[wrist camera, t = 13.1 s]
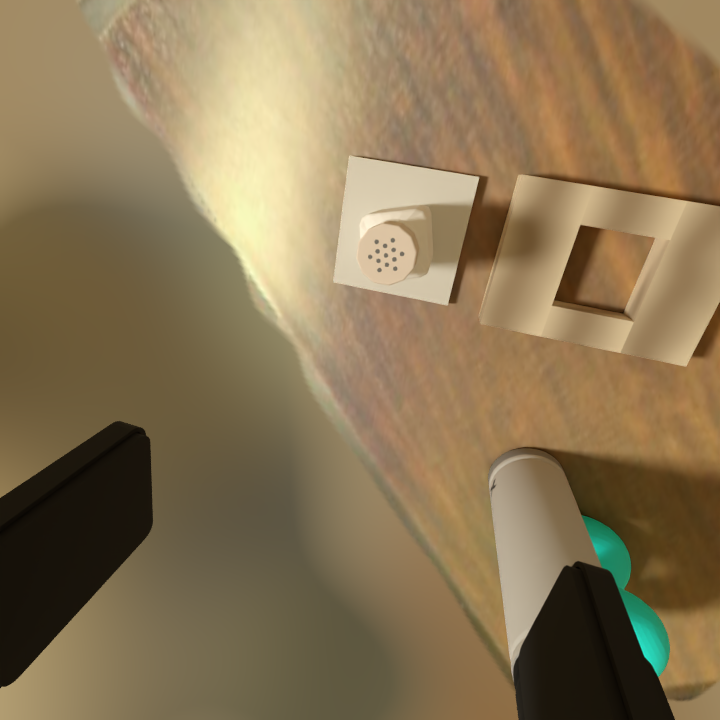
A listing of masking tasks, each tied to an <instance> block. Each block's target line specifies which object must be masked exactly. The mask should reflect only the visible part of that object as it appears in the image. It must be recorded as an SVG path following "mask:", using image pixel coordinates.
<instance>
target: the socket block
mask: <svg viewBox="0 0 720 720" xmlns="http://www.w3.org/2000/svg"><path fill="white" fill-rule="evenodd" d="M580 225H585V226H591V227H596V228H602V229H608V230H614V231H620V232H625V233H631V234H637V235H643V236H648V237H654V238H655V240H654V243H653V245H652V247H651V250H650V252H649V254H648V257H647V259H646V261H645V264H644V266H643V268H642V271H641V273H640V275H639V278H638V280H637V282H636V285H635V287H634V289H633V292H632V294H631V296H630V299H629V301H628V303H627V306H626V308H625V310H624V313H623V314H622V313H617V312H612V311H607V310H602V309H597V308H592V307H587V306H581V305H576V304H571V303H566V302H561V301H556V300H554V298H555V295H556V292H557V290H558V287H559V284H560V281H561V278H562V275H563V273H564V270H565V267H566V264H567V261H568V258H569V256H570V253H571V250H572V247H573V244H574V241H575V239H576V236H577V233H578V230H579V227H580ZM719 302H720V206H714V205H708V204H702V203H696V202H690V201H683V200H677V199H671V198H665V197H659V196H652V195H646V194H640V193H634V192H628V191H621V190H615V189H609V188H603V187H597V186H591V185H584V184H578V183H572V182H566V181H560V180H553V179H547V178H541V177H535V176H529V175H518V178H517V182H516V185H515V189H514V192H513V196H512V200H511V203H510V207H509V210H508V214H507V217H506V221H505V224H504V228H503V231H502V235H501V239H500V242H499V246H498V249H497V253H496V256H495V260H494V263H493V267H492V271H491V274H490V278H489V281H488V285H487V288H486V292H485V295H484V299H483V302H482V306H481V310H480V313H479V321H480V324H483V325H487V326H492V327H497V328H502V329H507V330H512V331H516V332H521V333H526V334H531V335H536V336H541V337H546V338H550V339H555V340H560V341H565V342H570V343H575V344H579V345H584V346H589V347H594V348H599V349H604V350H609V351H613V352H618V353H623V354H628V355H633V356H638V357H642V358H647V359H652V360H657V361H662V362H667V363H672V364H676V365H681V366H687V364H688V362H689V360H690V358H691V356H692V354H693V352H694V350H695V348H696V346H697V345H698V343H699V341H700V339H701V337H702V335H703V333H704V331H705V329H706V327H707V325H708V323H709V321H710V320H711V318H712V316H713V314H714V312H715V310H716V308H717V306H718V304H719Z"/></svg>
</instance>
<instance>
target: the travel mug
mask: <svg viewBox="0 0 720 720" xmlns="http://www.w3.org/2000/svg"><path fill="white" fill-rule="evenodd" d="M488 482H489V490H490V498H491V507H492V515H493V523H494V531H495V539H496V548H497V556H498V564H499V572H500V581H501V589H502V597H503V605H504V613H505V622H506V630H507V638H508V646H509V655H510V660H511V671H512V676H513V680H514V686H515V689H516V702H517V710H518V718H519V720H525V718H524V709H523V700H522V691H521V683H520V674H519V652H520V648H521V646H522V644H523V642H524V640H525V638H526V636H527V634H528V632H529V630H530V629H531V627H532V625H533V623H534V621H535V619H536V617H537V615H538V614H539V612H540V610H541V608H542V606H543V604H544V602H545V601H546V599H547V597H548V595H549V593H550V591H551V589H552V587H553V586H554V584H555V582H556V580H557V578H558V576H559V574H560V572H561V571H562V569H563V567H564V566H566V565H568V566H571V567H572V565H573V564H574V563H575V562H577V561H581V562H584V563H587V564H591V565H594V566H597V567H600V568H602V566H601V564H600V561H599V559H598V556H597V554H596V551H595V549H594V546H593V544H592V541H591V539H590V536H589V533H588V531H587V528H586V526H585V523H584V521H583V518H582V516H581V513H580V511H579V508H578V506H577V503H576V501H575V498H574V496H573V493H572V491H571V488H570V486H569V483H568V480H567V478H566V475H565V473H564V470H563V468H562V466H561V465H560V463H559V462H558V461H557V460H556V459H555V458H554V457H553V456H551V455H550V454H548V453H546V452H543V451H541V450H537V449H532V448H520V449H515V450H511V451H508V452H506V453H504V454H503V455H501V456H500V457H499V458H497V459H496V460H495V462H494V463H493V464H492V466H491V468H490V470H489V474H488Z"/></svg>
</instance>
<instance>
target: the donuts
mask: <svg viewBox="0 0 720 720" xmlns="http://www.w3.org/2000/svg"><path fill="white" fill-rule="evenodd" d="M581 516H582V518H583V521H584V523H585V526H586V528H587V531H588V533H589V536H590V539H591V541H592V544H593V546H594V549H595V551H596V554H597V556H598V559H599V561H600V564H601V566H602V568H604V569H607V570H609V571H610V572H611V573H612V575H613V577H614V579H615V582H616V584H617V587H618V589H619V592H620V595H621V597H622V600H623V602H624V605H625V608H626V610H627V613H628V615H629V618H630V621H631V623H632V626H633V628H634V631H635V634H636V636H637V639H638V641H639V644H640V647H641V649H642V652H643V654H644V657H645V658H646V659H647V660H648V661H649V662H650V663H651V664H652V666H653V668H654V670H655V672H656V674H657V676H658V677H659V676H660V675H661V673H662V672H663V671H664V669H665V667H666V665H667V663H668V659H669V653H670V644H669V638H668V634H667V632H666V629H665V627H664V625H663V623H662V621H661V620H660V618H659V617H658V616H657V614H656V613H655V612H654V611H653V610H652V609H651V608H650V607H649V606H648V605H647V604H646V603H645V602H644V601H642V600H641V599H640V598H638V597H637V596H635V595H633V594H632V593H630V592H628V591H626V590H624V588H625V587H626V585H627V583H628V581H629V578H630V574H631V560H630V555H629V552H628V550H627V548H626V546H625V544H624V543H623V541H622V540H621V539H620V537H619V536H618V535H617V534H616V533H615V532H614V531H613V530H612V529H610V528H609V527H608V526H606V525H604V524H603V523H601V522H599V521H597V520H595V519H592V518H590V517H587V516H583V515H581Z"/></svg>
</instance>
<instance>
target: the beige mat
mask: <svg viewBox="0 0 720 720" xmlns="http://www.w3.org/2000/svg"><path fill="white" fill-rule="evenodd" d="M478 181H479V177H477V176H470V175H464V174H458V173H452V172H446V171H440V170H434V169H428V168H422V167H416V166H410V165H403V164H397V163H391V162H385V161H379V160H373V159H367V158H361V157H355V156H349V162H348V170H347V178H346V186H345V193H344V201H343V209H342V217H341V225H340V232H339V240H338V248H337V256H336V264H335V271H334V279H333V282H335V283H340V284H345V285H350V286H354V287H359V288H364V289H369V290H374V291H379V292H384V293H389V294H394V295H399V296H404V297H409V298H414V299H419V300H423V301H428V302H433V303H438V304H443V305H448V302H449V298H450V294H451V290H452V286H453V282H454V278H455V274H456V270H457V266H458V261H459V257H460V253H461V249H462V245H463V241H464V237H465V233H466V229H467V225H468V221H469V217H470V213H471V209H472V205H473V201H474V197H475V193H476V189H477V185H478ZM421 204H422V205H426V206H428V207H429V209H430V211H431V218H432V237H433V257H432V261H431V264H430V268H429V271H428V273H427V274H426V275H424V276H422V277H421V278H414V279H405V280H404V281H401V282H398V283H395V284H392V285H390V286H388V285H383V284H378V283H374V282H372V281H371V280H370V279H369V278H368V277H366V276H365V275H364V274H363V273H362V271H361V269H360V266H359V264H358V261H357V258H356V256H357V249H358V242H359V241H360V226H359V225H360V222H361V219H362V217H364V216H365V215H367V214H369V213H372V212H375V211H378V210H381V209H387V208H395V207H404V206H412V205H421Z"/></svg>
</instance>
